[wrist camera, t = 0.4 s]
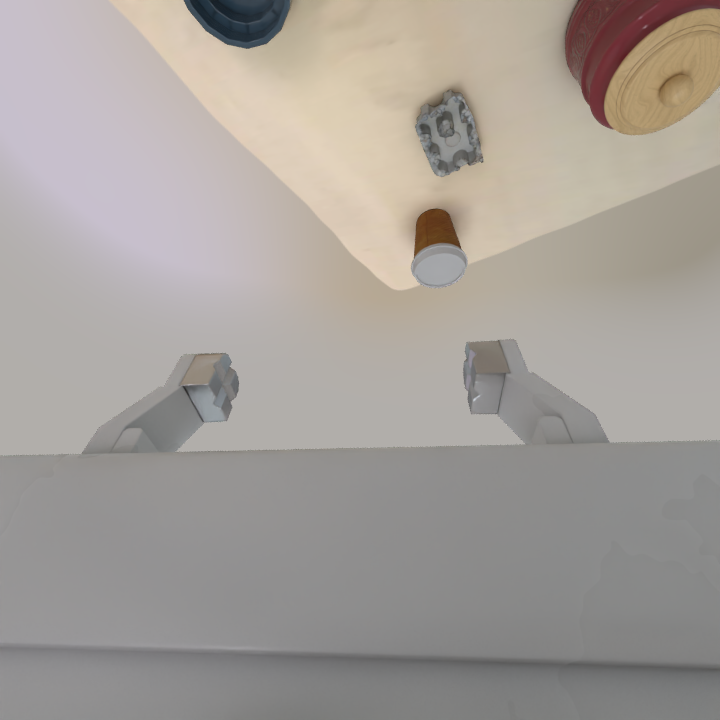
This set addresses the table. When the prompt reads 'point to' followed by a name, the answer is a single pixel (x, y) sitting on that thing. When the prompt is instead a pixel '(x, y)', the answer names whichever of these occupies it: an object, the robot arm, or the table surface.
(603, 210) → the table surface
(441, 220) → the disposable coffee cup
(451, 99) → the grey packaging insert
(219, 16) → the bowl
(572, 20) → the kitchen canister
